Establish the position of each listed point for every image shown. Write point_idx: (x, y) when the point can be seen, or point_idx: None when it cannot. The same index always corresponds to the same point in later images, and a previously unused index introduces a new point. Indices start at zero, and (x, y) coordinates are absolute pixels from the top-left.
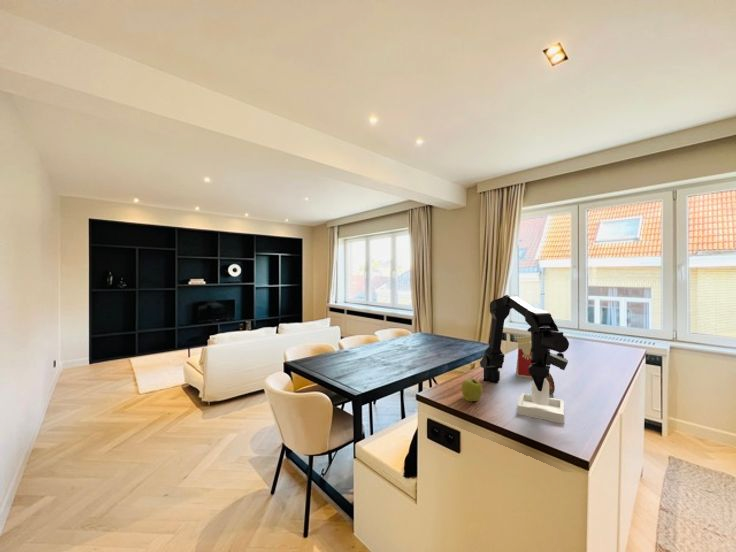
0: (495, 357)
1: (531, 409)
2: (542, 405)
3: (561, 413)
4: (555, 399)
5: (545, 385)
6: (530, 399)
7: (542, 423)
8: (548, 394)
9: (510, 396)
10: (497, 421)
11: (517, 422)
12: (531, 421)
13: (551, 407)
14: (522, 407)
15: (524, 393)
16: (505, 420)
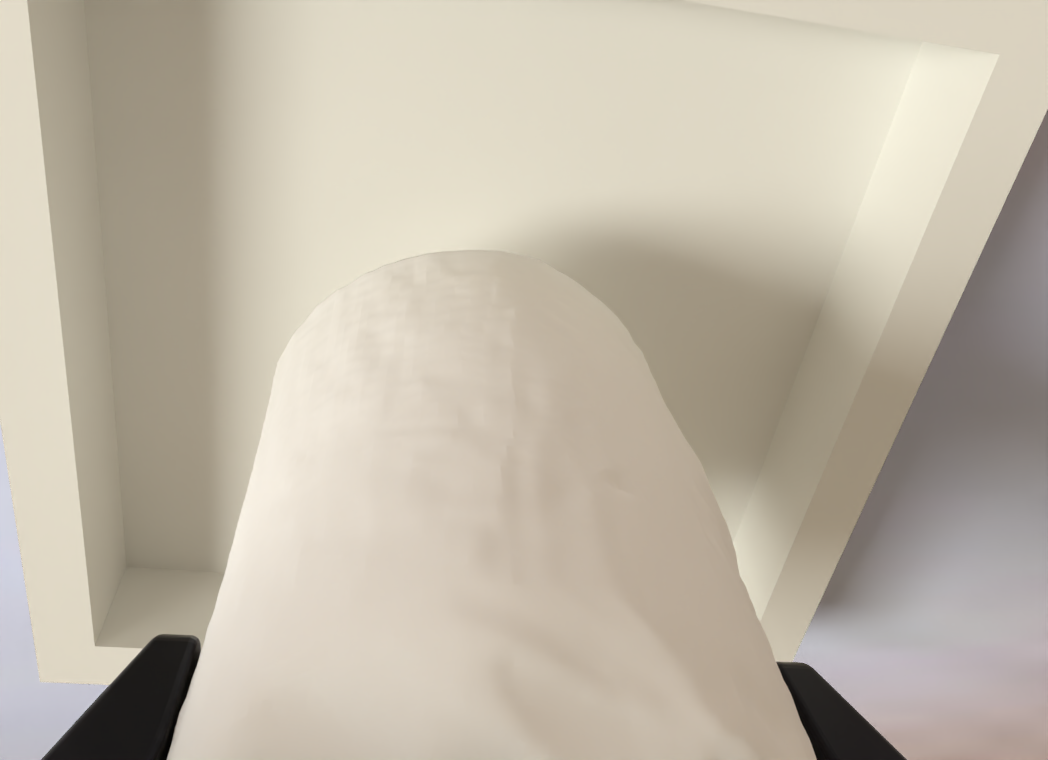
0: None
1: (836, 531)
2: (299, 295)
3: (1037, 27)
4: (11, 31)
5: (807, 739)
6: (111, 492)
7: (1012, 317)
8: (617, 405)
9: (16, 701)
10: (1012, 752)
11: (1015, 594)
12: (960, 452)
13: (325, 125)
14: (785, 641)
15: (53, 646)
16: (973, 697)
